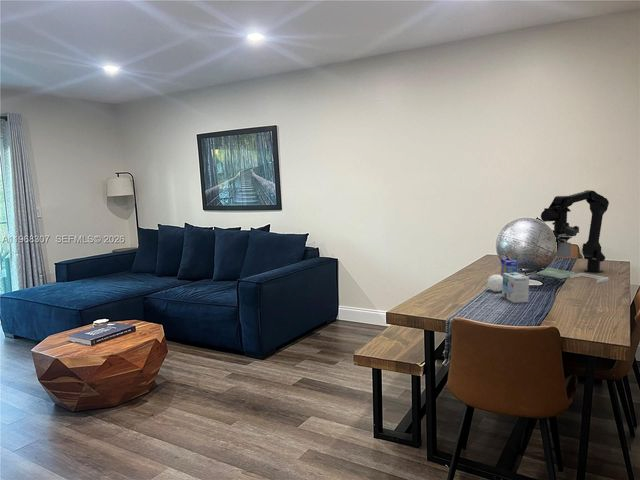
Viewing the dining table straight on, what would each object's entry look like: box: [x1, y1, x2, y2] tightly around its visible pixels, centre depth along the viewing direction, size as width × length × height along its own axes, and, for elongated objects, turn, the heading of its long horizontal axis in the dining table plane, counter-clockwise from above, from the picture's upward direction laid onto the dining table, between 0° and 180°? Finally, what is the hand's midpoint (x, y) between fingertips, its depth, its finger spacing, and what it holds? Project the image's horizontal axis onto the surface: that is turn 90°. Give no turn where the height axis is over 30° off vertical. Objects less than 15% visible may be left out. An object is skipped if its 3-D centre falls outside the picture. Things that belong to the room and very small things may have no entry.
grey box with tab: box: [555, 239, 572, 258], centre depth 240 cm, size 5×9×9 cm, turn 29°
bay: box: [569, 272, 610, 284], centre depth 232 cm, size 10×14×2 cm
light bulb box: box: [501, 272, 530, 304], centre depth 199 cm, size 11×7×11 cm, turn 5°
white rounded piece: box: [487, 274, 503, 293], centre depth 212 cm, size 8×8×12 cm
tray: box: [534, 267, 576, 280], centre depth 244 cm, size 11×15×2 cm
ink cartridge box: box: [500, 254, 519, 277], centre depth 225 cm, size 10×6×14 cm, turn 174°
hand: (559, 250), depth 240 cm, fingers closed on grey box with tab, 5 cm apart
